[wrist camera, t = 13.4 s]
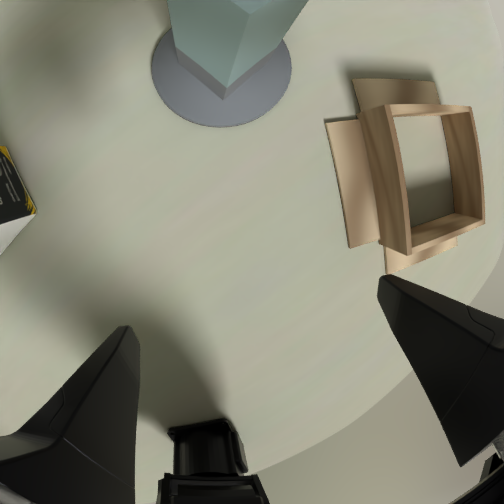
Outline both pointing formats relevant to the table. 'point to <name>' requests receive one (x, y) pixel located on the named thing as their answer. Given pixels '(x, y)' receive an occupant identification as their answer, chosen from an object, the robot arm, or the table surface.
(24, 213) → the medicine bottle
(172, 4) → the slim box
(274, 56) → the mat
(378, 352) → the table surface
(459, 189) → the carton
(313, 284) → the table surface
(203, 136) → the table surface
